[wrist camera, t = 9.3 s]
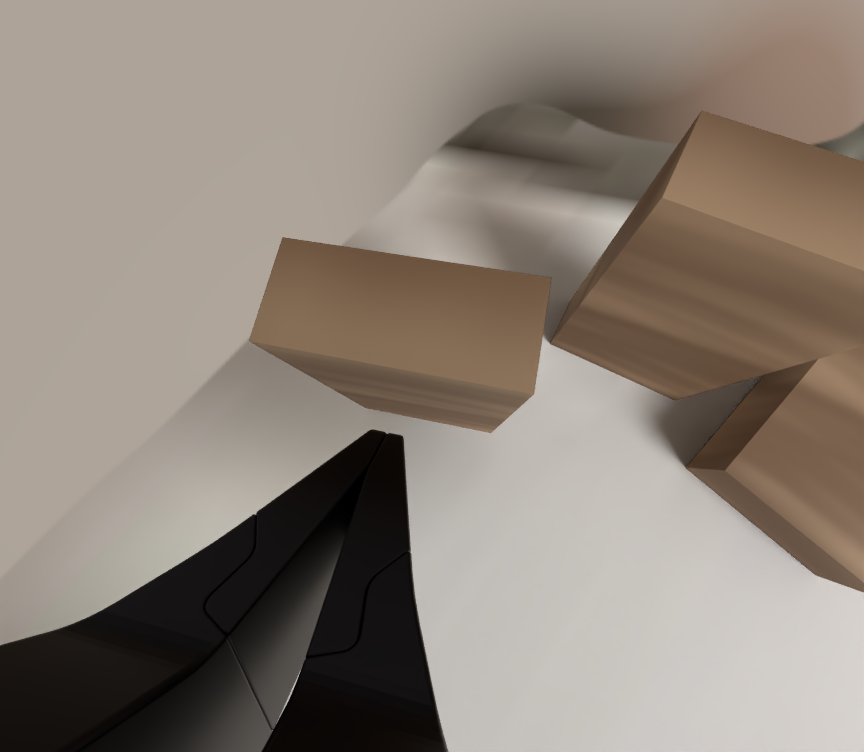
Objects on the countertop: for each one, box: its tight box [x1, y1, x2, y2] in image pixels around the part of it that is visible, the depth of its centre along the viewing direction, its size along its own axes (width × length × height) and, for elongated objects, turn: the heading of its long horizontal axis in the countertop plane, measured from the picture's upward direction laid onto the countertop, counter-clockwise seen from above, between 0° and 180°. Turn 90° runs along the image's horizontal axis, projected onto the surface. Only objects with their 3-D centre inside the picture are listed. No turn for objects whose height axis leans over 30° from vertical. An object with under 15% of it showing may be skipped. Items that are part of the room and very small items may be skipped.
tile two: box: [249, 238, 551, 433], centre depth 13 cm, size 3×6×10 cm, turn 79°
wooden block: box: [686, 346, 864, 592], centre depth 15 cm, size 3×6×10 cm
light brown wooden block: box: [550, 111, 864, 400], centre depth 12 cm, size 3×6×10 cm, turn 62°
